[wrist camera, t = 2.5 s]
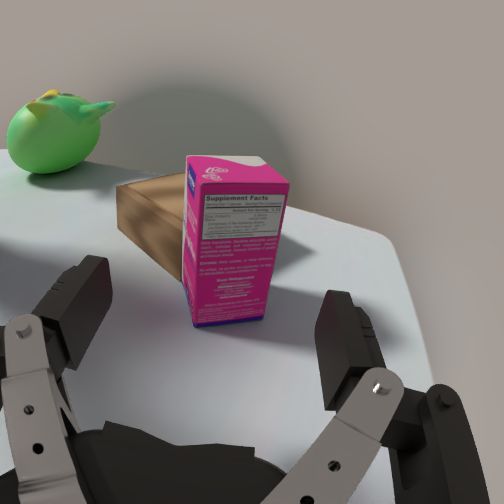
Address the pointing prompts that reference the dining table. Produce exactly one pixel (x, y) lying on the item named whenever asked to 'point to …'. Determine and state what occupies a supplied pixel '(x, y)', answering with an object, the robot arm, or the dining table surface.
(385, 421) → the robot arm
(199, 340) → the dining table surface
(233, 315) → the supplement box
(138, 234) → the walnut plinth
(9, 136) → the toy bird
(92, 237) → the dining table surface
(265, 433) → the dining table surface
